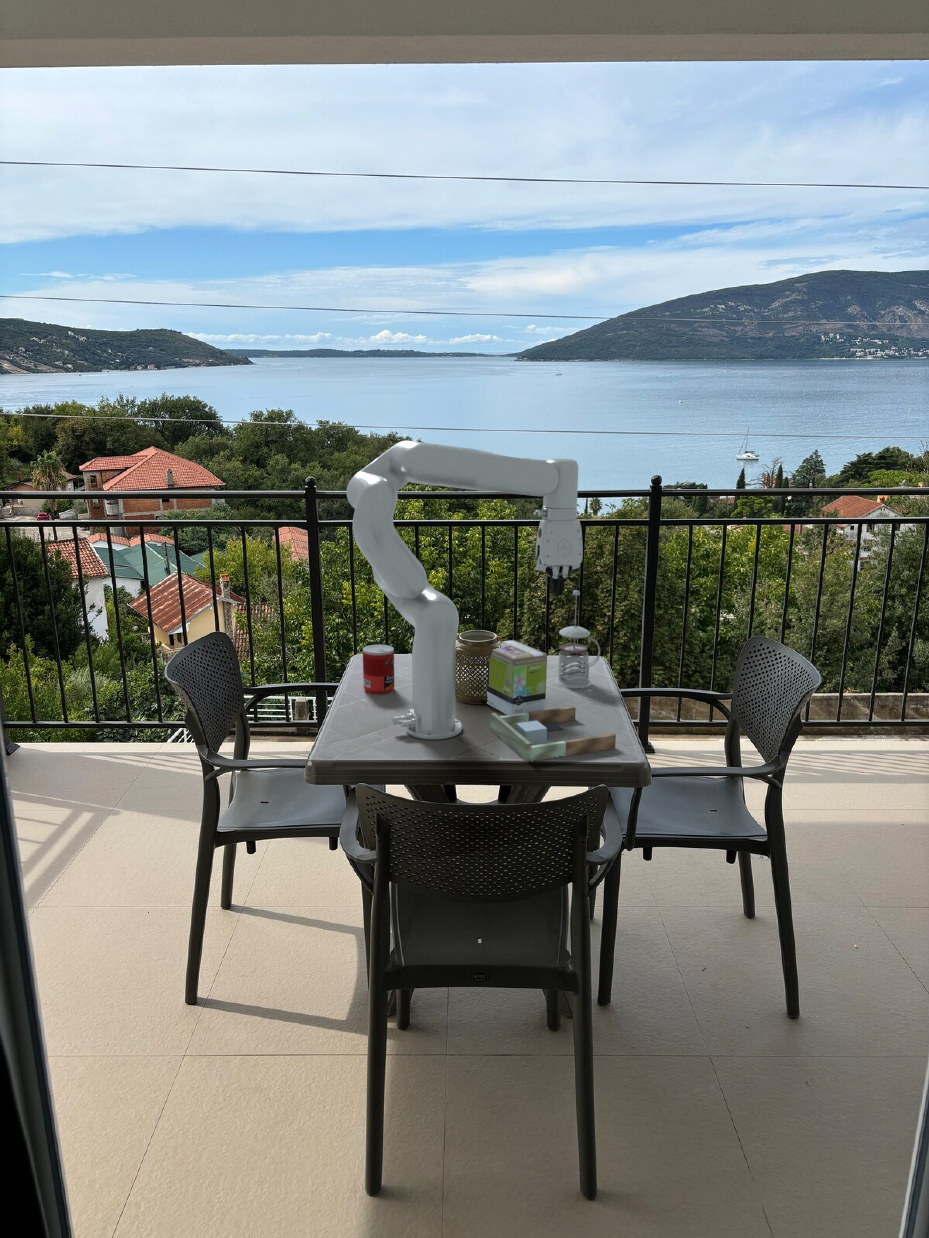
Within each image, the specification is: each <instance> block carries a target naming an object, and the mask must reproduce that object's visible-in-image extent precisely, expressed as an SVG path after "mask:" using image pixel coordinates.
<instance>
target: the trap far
mask: <svg viewBox="0 0 929 1238" xmlns="http://www.w3.org/2000/svg"><path fill="white" fill-rule="evenodd" d="M542 725H543V726H545V727H546V728H547V733H548V732H549V733H550V732H556V731H562V730H563V731H564V728H563V727H562V726H561V725H560V724H557V722H556V723H555V722H549V723H542Z"/></svg>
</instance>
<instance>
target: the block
mask: <svg viewBox="0 0 929 1238" xmlns="http://www.w3.org/2000/svg"><path fill="white" fill-rule="evenodd" d="M515 730H516V731H517V732H519V733H520V734H521V735H522V736H523V737H525V738H526V739H527V740H528V741H529V742H531V743H532V746H534V745H540V744H547V741H548V740H547V737H548V736H547V735H548V732H547V728H546V727H545V726H543V725H542V724H541V723H539V722H538V721H530V722H523V723H516V728H515Z"/></svg>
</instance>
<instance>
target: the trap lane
mask: <svg viewBox="0 0 929 1238" xmlns="http://www.w3.org/2000/svg"><path fill="white" fill-rule="evenodd" d="M576 708H577V707H576V706H573V705H572V706H566V707H559V708H550V709H545V710H542V711H535V712H527V713H520V714H513V715H506V714H504V715H498V713H496V712H492V713H490V731H491V730H492V731H493V733H494V734H495V736H496V737H498V736H499V737H500V738H501V739H502V740H501V739H500V738H499V737H498V738H499V739H500V740H501V741H502V742H504V743H505V744H506V743H507V744H508V745H507V744H506V745H507V746H508V747H509V746H510V747H511V748H512V749H511V748H510V747H509V748H510V749H511V750H513V751H514V753H516V754H517V753H518V754H519V755H518V754H517V755H518V756H521V757H520V758H521V759H523V761H525V760H526V761H527V762H526V761H525V762H526V763H529V761H531V762H535V761H534V760H537V761H543V760H549V758H550V759H555V758H554V757H556V758H560V757H559V756H562V757H567V756H575V755H581V754H587V753H588V754H589V753H592V752H599V751H605V750H612V749H616V740H617V739H616V738H617V736H616V735H617V734H615V733H614V732H613V733H608V734H601V735H594V736H589V737H581V738H576V739H575V738H574V739H568V740H567V739H566V740H562V741H554V742H548V743H547V744H540V745H534V746H532V743H531V742H529V741H528V740H527V739H526V738H525V737H523V736H522V735H521V734H520V733H519V732H517V731H516V723H523V722H530V721H538V722H539V723H541V724H542V723H549V722H555V723H556V724H557V723H562V722H563V723H564V722H569V721H575V720H576ZM492 731H491V732H492Z"/></svg>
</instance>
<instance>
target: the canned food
mask: <svg viewBox="0 0 929 1238" xmlns="http://www.w3.org/2000/svg"><path fill="white" fill-rule="evenodd" d="M362 670H363V672H362V677H363V678H362V679H363V690H364V691H365V692H366V693H368V694H372V695H383V694H384V695H385V694H389V693H392V692H393V691H394V690H395V648H394V647H393V646H391V645H387V644H371V645H367V646H364V647H363V648H362Z"/></svg>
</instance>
